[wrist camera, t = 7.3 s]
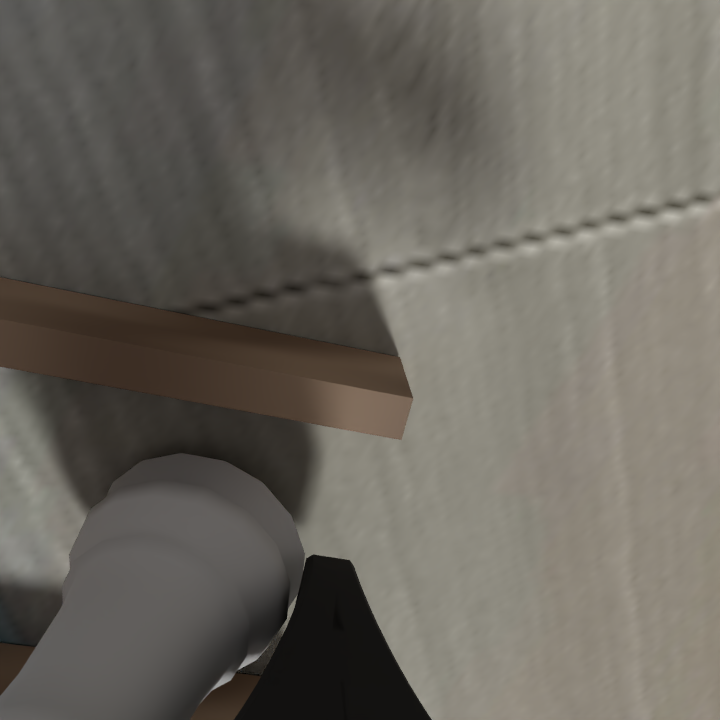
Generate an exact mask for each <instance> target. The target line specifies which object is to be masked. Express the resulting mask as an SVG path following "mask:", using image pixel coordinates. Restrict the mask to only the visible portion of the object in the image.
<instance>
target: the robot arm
mask: <svg viewBox="0 0 720 720" xmlns="http://www.w3.org/2000/svg"><path fill="white" fill-rule="evenodd" d="M234 720H432V719H431V718H430V716H429V715H428V714H427V712H426V711H425V709H424V707H423V706H422V704H421V703H420V701H419V699H418V698H417V696H416V695H415V693H414V691H413V690H412V688H411V686H410V685H409V683H408V681H407V679H406V678H405V676H404V674H403V672H402V671H401V669H400V667H399V665H398V663H397V662H396V660H395V658H394V656H393V654H392V652H391V650H390V648H389V646H388V644H387V642H386V640H385V638H384V636H383V634H382V632H381V630H380V628H379V626H378V624H377V622H376V620H375V618H374V615H373V613H372V611H371V609H370V606H369V604H368V602H367V599H366V597H365V595H364V592H363V590H362V587H361V585H360V582H359V579H358V577H357V574H356V571H355V568H354V566H353V564H352V563H351V561H350V560H345V559H338V558H332V557H325V556H319V555H312V556H310V557H308V558H306V562H305V567H304V571H303V575H302V579H301V583H300V588H299V592H298V596H297V600H296V604H295V608H294V611H293V613H292V616H291V618H290V620H289V623H288V625H287V628H286V630H285V632H284V634H283V636H282V638H281V640H280V642H279V644H278V646H277V648H276V650H275V652H274V654H273V656H272V658H271V660H270V661H269V663H268V665H267V667H266V669H265V671H264V672H263V674H262V676H261V678H260V679H259V681H258V683H257V684H256V686H255V688H254V689H253V691H252V693H251V694H250V696H249V697H248V699H247V701H246V702H245V704H244V705H243V707H242V708H241V710H240V711H239V713H238V714H237V716H236V717H235V719H234Z"/></svg>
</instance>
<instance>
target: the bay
mask: <svg viewBox="0 0 720 720" xmlns="http://www.w3.org/2000/svg"><path fill="white" fill-rule="evenodd" d="M0 367H6V368H11V369H16V370H22V371H27V372H33V373H38V374H44V375H49V376H55V377H60V378H66V379H71V380H77V381H82V382H88V383H93V384H99V385H104V386H109V387H115V388H120V389H126V390H131V391H137V392H142V393H148V394H153V395H159V396H164V397H170V398H175V399H181V400H186V401H191V402H197V403H202V404H208V405H213V406H219V407H224V408H230V409H235V410H241V411H246V412H252V413H257V414H263V415H268V416H274V417H279V418H284V419H290V420H295V421H301V422H306V423H312V424H317V425H323V426H328V427H334V428H339V429H345V430H350V431H356V432H361V433H367V434H372V435H377V436H383V437H388V438H394V439H399V440H402V436H403V432H404V429H405V425H406V422H407V418H408V415H409V411H410V408H411V404H412V401H413V396H412V393H411V390H410V387H409V384H408V381H407V378H406V375H405V372H404V369H403V365H402V362H401V359H400V357H396V356H391V355H386V354H381V353H376V352H371V351H366V350H361V349H356V348H351V347H346V346H341V345H336V344H331V343H326V342H321V341H316V340H311V339H306V338H301V337H296V336H291V335H286V334H281V333H276V332H271V331H266V330H261V329H256V328H251V327H246V326H241V325H236V324H231V323H226V322H221V321H216V320H211V319H206V318H201V317H196V316H191V315H186V314H181V313H176V312H171V311H166V310H161V309H156V308H151V307H146V306H141V305H136V304H131V303H126V302H121V301H116V300H111V299H106V298H101V297H96V296H91V295H86V294H81V293H76V292H71V291H66V290H61V289H56V288H51V287H46V286H42V285H37V284H32V283H27V282H22V281H17V280H12V279H7V278H2V277H0ZM35 648H36V647H30V646H22V645H14V644H7V643H0V696H1V694H2V693H3V692H4V691H5V690H6V688H7V687H8V686H9V685H10V684H11V682H12V681H13V680H14V679H15V678H16V676H17V675H18V674H19V673H20V671H21V670H22V668H23V666H24V665H25V663H26V662H27V660H28V659H29V657H30V655H31V654H32V652H33V651H34V649H35ZM260 678H261V676H255V675H248V674H240V673H235V675H234V676H233V678H232V679H231V680H230V681H229V682H227V683H225V684H223V685H221V686H219V687H217V688H216V689H214V690H212V691H211V692H210V693H209V694H208V695H207V696H206V698H205V699H204V700H203V701H202V702H201V703H200V704H199V706H198V707H197V709H196V711H195V712H194V714H193V715H192V717H191V718H190V720H234V719H235V717H236V716H237V714H238V713H239V711H240V710H241V708H242V707H243V705H244V704H245V702H246V701H247V699H248V697H249V696H250V694H251V693H252V691H253V689H254V688H255V686H256V684H257V683H258V681H259V679H260Z"/></svg>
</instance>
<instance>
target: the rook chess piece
mask: <svg viewBox="0 0 720 720" xmlns="http://www.w3.org/2000/svg"><path fill="white" fill-rule="evenodd" d="M304 557H305V553H304V550H303V547H302V544H301V541H300V538H299V535H298V532H297V530H296V527H295V524H294V521H293V518H292V516H291V515H290V513H289V512H288V511H287V510H286V509H285V508H284V507H283V505H282V504H281V503H280V502H279V501H278V500H277V498H276V497H275V496H274V495H273V494H272V493H271V491H270V490H269V489H268V488H267V487H266V486H265V484H264V483H262V482H261V481H260V480H258V479H256V478H254V477H253V476H251V475H249V474H247V473H246V472H244V471H242V470H240V469H239V468H237V467H235V466H233V465H232V464H230V463H228V462H226V461H223V460H217V459H212V458H206V457H201V456H195V455H190V454H184V453H178V454H173V455H168V456H163V457H158V458H153V459H148V460H143V461H141V462H139V463H138V464H137V465H135V466H134V467H132V468H131V469H130V470H128V471H127V472H126V473H124V474H123V475H122V476H120V477H119V478H118V479H116V480H115V481H114V482H112V485H111V487H110V489H109V491H108V493H107V495H106V497H105V498H104V499H103V500H101V501H100V502H99V503H97V504H96V505H95V506H93V507H92V508H91V509H90V511H89V513H88V515H87V517H86V520H85V522H84V524H83V526H82V528H81V530H80V532H79V535H78V537H77V539H76V541H75V543H74V545H73V547H72V550H71V552H70V554H69V559H70V571H69V573H68V575H67V577H66V579H65V581H64V583H63V585H62V595H63V605H62V607H61V609H60V610H59V612H58V613H57V615H56V616H55V618H54V620H53V621H52V623H51V624H50V626H49V627H48V629H47V630H46V632H45V634H44V635H43V637H42V638H41V640H40V641H39V643H38V645H37V646H36V648H35V649H34V651H33V652H32V654H31V655H30V657H29V659H28V660H27V662H26V663H25V665H24V666H23V668H22V670H21V671H20V673H19V674H18V675H17V676H16V678H15V679H14V680H13V681H12V682H11V684H10V685H9V686H8V687H7V688H6V690H5V691H4V692H3V693H2V694H1V696H0V720H190V718H191V717H192V715H193V714H194V712H195V711H196V709H197V707H198V706H199V704H200V703H201V702H202V701H203V700H204V699H205V698H206V696H207V695H208V694H209V693H210V692H211V691H212V690H214V689H216V688H217V687H219V686H221V685H223V684H225V683H227V682H229V681H230V680H231V679H232V678H233V676H234V675H235V673H236V672H237V670H239V669H241V668H243V667H244V666H246V665H248V664H250V663H252V662H254V661H255V660H257V659H258V658H259V657H260V656H261V654H262V653H263V652H264V651H265V650H266V648H267V647H268V646H269V644H270V643H271V641H272V640H273V638H274V637H275V635H276V634H277V632H278V631H279V630H280V628H281V627H282V625H283V624H284V622H285V621H286V619H287V612H288V608H289V606H290V605H291V603H292V602H293V600H294V599H295V597H296V596H297V594H298V592H299V588H300V583H301V579H302V575H303V566H304Z"/></svg>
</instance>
